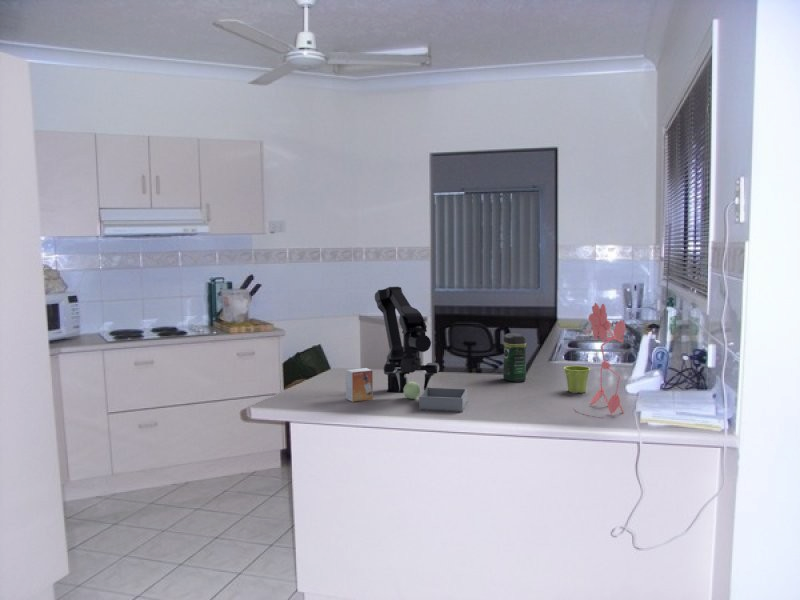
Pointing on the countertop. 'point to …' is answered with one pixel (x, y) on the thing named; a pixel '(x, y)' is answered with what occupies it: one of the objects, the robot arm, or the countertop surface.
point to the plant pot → (577, 378)
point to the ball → (411, 390)
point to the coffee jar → (514, 357)
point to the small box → (359, 384)
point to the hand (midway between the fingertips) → (411, 391)
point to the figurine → (599, 328)
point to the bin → (443, 399)
